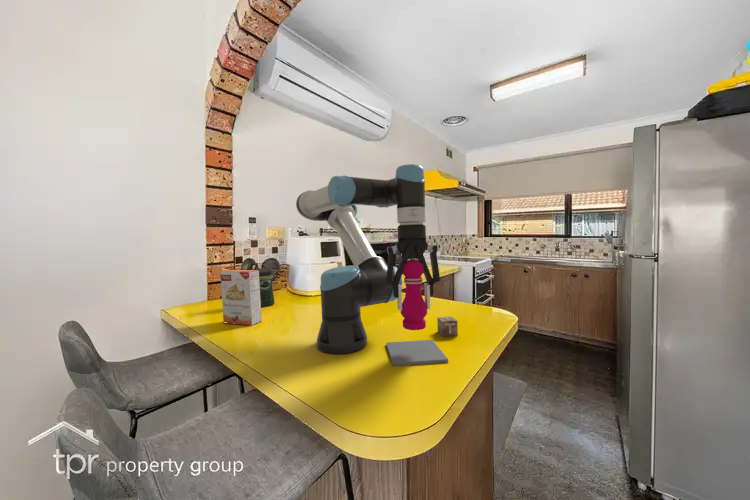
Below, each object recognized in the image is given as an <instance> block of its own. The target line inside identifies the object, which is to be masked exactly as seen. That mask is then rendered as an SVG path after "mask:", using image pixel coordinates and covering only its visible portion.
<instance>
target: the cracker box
mask: <svg viewBox="0 0 750 500" xmlns="http://www.w3.org/2000/svg"><path fill="white" fill-rule="evenodd" d="M220 283H221V284H220V285H221V300H222V301H221V303H222V304H221V305H222V317H223V318H222V320H223V323H224V322H227V323H226V324H228V323H235V324H234V325H238V324H243V325H242V326H248V325H252V326H255V325H257V324H259V323H261V322H262V307H261V300H260V282H259V270H255V269H227V270H222V271H220ZM256 323H257V324H256ZM254 324H255V325H254Z"/></svg>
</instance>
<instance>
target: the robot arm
mask: <svg viewBox="0 0 750 500" xmlns="http://www.w3.org/2000/svg"><path fill="white" fill-rule="evenodd" d="M425 184H426V180H425V171H424V167H423V166H422V165H419V164H414V163H413V164H411V163H410V164H402V165H399V166H397V168H396V170H395V177H393V178H391V179H378V178H377V179H376V178H365V177H356V176H355V177H354V176H347V175H334V176H332V177H331V178H330V181H329V182H328V185H325V186H323V187H320V188H319V189H316V190H306V191H304V192H302V193H301V194H299V195H298V197H297V198H296V203H295V205H296V210H297V212H298V214H299V215H301V216H302V217H303V218H304V219H307V220H310V221H317V222H318V221H319V222H323V221H325V222H327V223H328V226H329V227H331V228H332V229H334V230H335V231H336V233H337V234H338V236H339V238H340V241H341V243H342V244H343V247H344V249H345V251H346V252H347V255H348V256H349V259H350V260H351V262H352V265H350V264H349V265H345V266H343V265H342V266H337V267H332V268H330V269H327V270H325V271H323V272H322V273H321V275H320V285H319V289H320V302H321V303H320V304H321V305H320V306H321V307H320V308H321V324H320V327H319V330H318V333H317V338H316V347H317V350H319V351H320V352H323V353H326V354H331V355H332V354H334V355H341V354H342V355H345V354H350V353H354V352H358V351H361V350H362V349H364V348H365V347H367V346H368V335H367V332H366V329H365V326H364V323H363V321H362V318H361V317H362V316H361V313H362V312H361V308H364V307H368V306H374V305H380V304H388V303H390V302H394V301H396V300H397V309H398V311H400V312H401V311H402V303H403V294H402V290H403V276H402V275H403V270H404V266H405V264H406V262H407V261H408V260H410V259H412V258H415V260H418V261H420V262H421V263H422V265H423V267H424V272H423V276H424V278H425V280H426V282H427V283H424V286H423V287H424V288H423V289H424V302H425V304H426V307H427V310H431V297H433V296H434V285H435V283H438V282H440V281H441V277H440V275H441V274H440V271H439V270H440V269H439V262H438V257H437V256H438V255H437V252H438V249H439V246H438V245H434V244H428V242H427V228H426V224H424V223H425V222H426V188H425V187H426V185H425ZM358 206H368V207H369V206H370V207H374V206H375V207H378V208H389V207H392V206H396V213H397V214H396V216H397V217H396V219H397V220H396V221H397V222H396V223H397V224H398V226H397V243H396V244H395V245H393V246H388V247H386V251H387V252H386V253H387V255H388V256H387V257H388V258H387V262H386V261H385V259H384V258H383V256H382V257H381V256H377V254H376V252H375V251H374V249H373V247H372V245H371V244H370V242H369V240H368V239H367V237H366V235H365V234H364V232H363V230H362V229H361V227H360V224H358V221H357V220H356V217H357V213H358ZM426 250H427V251H428V253H429V259H430V265H431V270H430V269H429V267H428V264H427V262H426V259H425V258H426V257H425V256H424V254H425V252H426ZM397 251H398V252H399V253H400V254H401V256H400V258H399V263H398V266H394V264H395V263H394V261H395V254H396V253H397ZM431 272H432V273H431Z"/></svg>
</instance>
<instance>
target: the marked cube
mask: <svg viewBox="0 0 750 500" xmlns="http://www.w3.org/2000/svg"><path fill="white" fill-rule="evenodd" d="M436 320H437V333H438V334H439V336H441V337H447V338H448V337H458V335H459V333H458V330H459V329H458V325H459V324H458V320H457V319H456V318H455V317H453V316H438V317H437V319H436Z"/></svg>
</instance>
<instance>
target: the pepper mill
mask: <svg viewBox="0 0 750 500" xmlns="http://www.w3.org/2000/svg"><path fill="white" fill-rule="evenodd" d="M423 272H424V267H423V265H422V263H421V262H420V261H418V259H415V258H412V259H407V262H406V264H405V266H404V270H403V273H402V275H403V276H404V277H403V280H404V281H403V283H404V284H405V294H404V295H405V296H404V298H403V299H402V311H400V314H401V316H402V317H403V320H402V327H403V328H404V330H409V331H420V330H421V331H422V330H425V329H426V327H427V326H426V325H427V321H426V319H425V317H426V316H427V315H428V309H427V307H426V304H425V299H424V298H423V296H422V290H421V286H422V285H421V284H423V277H422V275H424V273H423Z"/></svg>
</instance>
